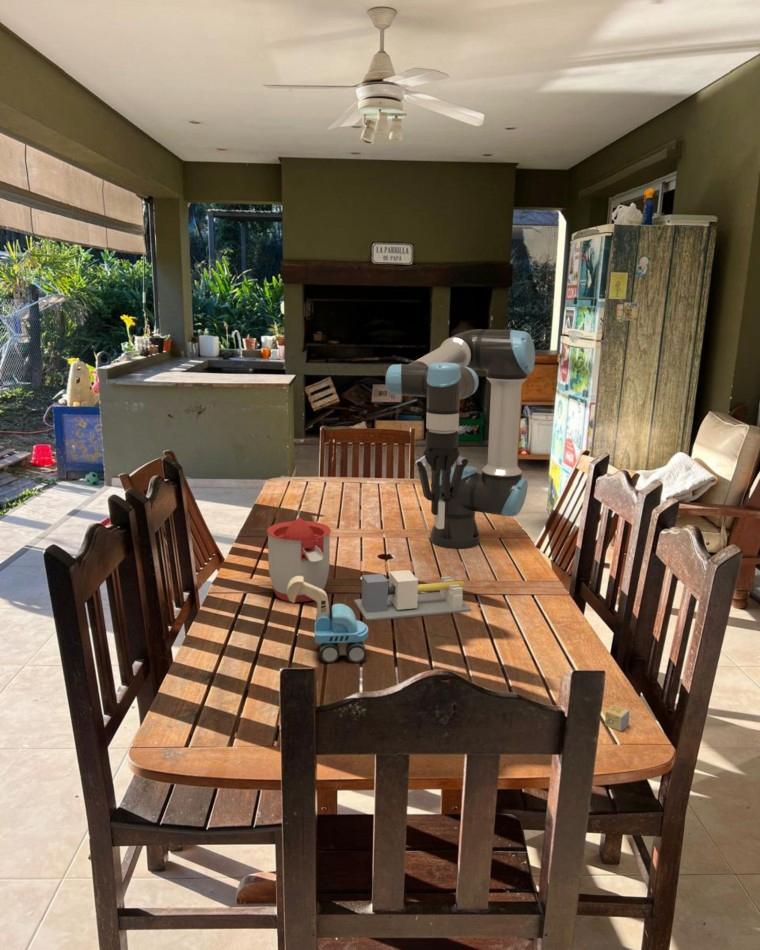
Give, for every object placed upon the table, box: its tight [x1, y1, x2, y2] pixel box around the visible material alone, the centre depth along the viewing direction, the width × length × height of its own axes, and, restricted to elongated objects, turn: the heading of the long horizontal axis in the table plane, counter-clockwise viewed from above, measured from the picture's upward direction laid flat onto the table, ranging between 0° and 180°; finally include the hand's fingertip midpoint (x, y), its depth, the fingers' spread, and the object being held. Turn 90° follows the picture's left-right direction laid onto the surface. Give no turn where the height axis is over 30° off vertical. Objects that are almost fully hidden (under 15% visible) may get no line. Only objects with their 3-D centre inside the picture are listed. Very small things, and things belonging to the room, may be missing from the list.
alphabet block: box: [604, 704, 631, 732], centre depth 133 cm, size 3×3×3 cm
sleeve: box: [388, 569, 419, 610], centre depth 182 cm, size 5×7×7 cm
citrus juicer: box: [266, 517, 332, 604], centre depth 186 cm, size 16×17×20 cm
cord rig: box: [353, 573, 473, 622], centre depth 182 cm, size 26×12×8 cm, turn 106°
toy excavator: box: [287, 576, 369, 664], centre depth 156 cm, size 9×17×17 cm, turn 95°
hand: (439, 527), depth 181 cm, fingers closed
